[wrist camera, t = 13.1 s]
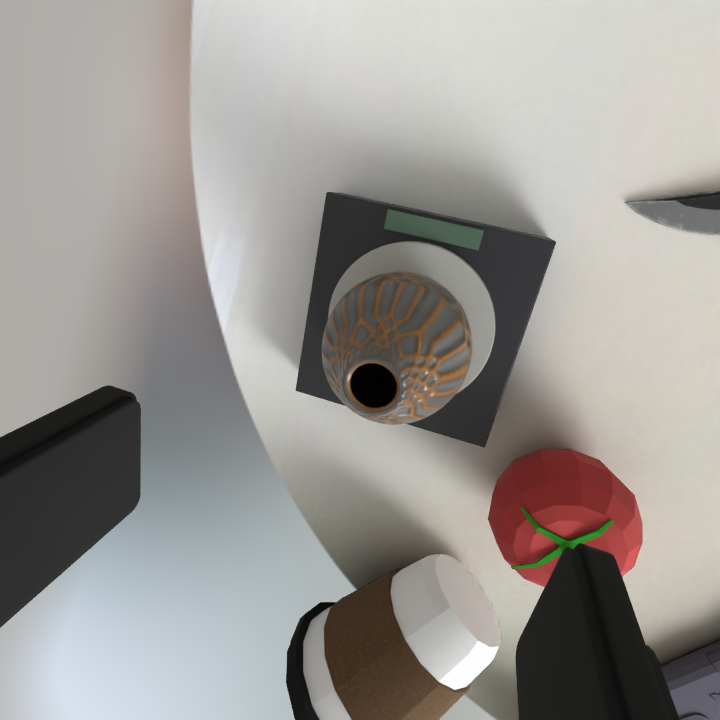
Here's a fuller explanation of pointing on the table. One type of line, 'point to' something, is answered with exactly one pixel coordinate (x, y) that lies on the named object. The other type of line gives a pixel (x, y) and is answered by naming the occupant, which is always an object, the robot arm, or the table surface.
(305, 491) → the table surface
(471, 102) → the table surface
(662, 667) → the handgun
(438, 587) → the coffee cup
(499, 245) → the scale
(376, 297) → the vase
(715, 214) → the knife
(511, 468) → the tomato
